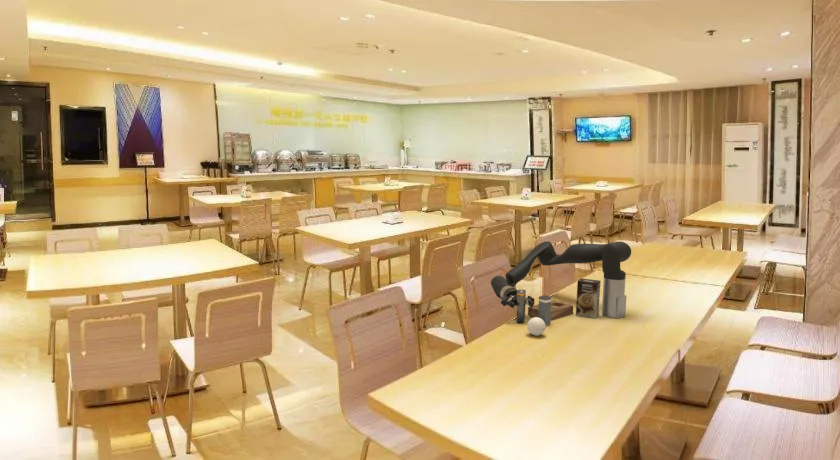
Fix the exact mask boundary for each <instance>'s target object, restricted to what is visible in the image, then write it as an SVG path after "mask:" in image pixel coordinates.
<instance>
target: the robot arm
mask: <svg viewBox="0 0 840 460" xmlns="http://www.w3.org/2000/svg"><path fill="white" fill-rule="evenodd" d="M631 255H632V248H631V247H630V245H629V244H628V243H626V242H624V241H619V240H618V241H614V242H609V243H600V244H599V243H574V244H571V245H569V246H568V247H567V248H566V249H565V250H564V251H563V252H562V254H558V253H557V252H556V250H555V248H554V245H553V244H552V242H550V241H548V240H547V241H543V242H539V243H538V244H537V245H536V246H534V247H533V249H532V250H531V251H530V252H529V253H528V254H526V256H525V257H524V258H523V259H522V260H521V261H520V262H519V263H518V264H516V265H515V266H514V267H513V268H511V269H510V270H508V271H507V272H506V273H505V276H503V275H496V276H494V277H492V279H491V280H490V286H491V288H492V290H493V292H494V293H495V295H496V296H497V298H500V299H499V301H500V304H501V306H503V307H505V306H507V307H509V308H512V309H514V308H515V307H517V290H518V289H517V288H516V285H517V284H518V283H519V282H521V281H523V280H524V279H525V278H526V277H527V275H528V274H529V273H530V270H531V268H532V266H533V264H534V261H535V260H536V258H537V259H538V262H539V263H540V264H541V265H542V266H547V267H548V266H556V265H562V264H563V265H564V264H589V263H596V262H601V270H602V273H603V281H602V282H603V283H602V284H603V285H602V286H603V287H602V301H601V303H602V305H601V315H602V316H603V317H606V318H614V319H621V318H624V317H626V309H627V295H626V294H625V292H626V278H627V277H626V275H627V274H626V272H625V271H624V270H622V269H621V263H623V262H626V261H627V260H628V259H629V258H630V257H631ZM526 305H527V306H528V307H533V305H535V298H534V297H532V296H531V295H526V300H525V306H526Z"/></svg>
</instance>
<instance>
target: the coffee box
mask: <svg viewBox="0 0 840 460" xmlns="http://www.w3.org/2000/svg"><path fill="white" fill-rule="evenodd" d="M600 294H601V280H599V279H598V280H597V279H590V278H582V277H581V278H579V279H578V280H577V287H576V302H575V303H576V304H575V316H577V317H584V318H591V319H597V318H598V317H599V314H600V313H599V312H600V309H599V308H600V297H601V295H600Z"/></svg>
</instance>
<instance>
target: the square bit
mask: <svg viewBox="0 0 840 460" xmlns="http://www.w3.org/2000/svg"><path fill="white" fill-rule="evenodd" d="M551 301H552V296H549V295H545V294H544V295H540V296H538V304H539V315H538V318H541V319H542V320H543V321H544V322H545V326H546V327H547V326H549V325H551V320H550V319H551ZM546 324H547V325H546Z"/></svg>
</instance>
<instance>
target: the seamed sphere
mask: <svg viewBox="0 0 840 460" xmlns="http://www.w3.org/2000/svg"><path fill="white" fill-rule="evenodd" d="M526 326H527V331H528V332H529V333H530V334H531V335H533V336H535V337H536V336H537V337H538V336H541V335H543V334H545V333H544V332H545V331H546V327H547V326H548V325H547V324H546V326H545V322H544V321H543V320H542V319H541V318H538V317H531V318H530V319H529V320H528V322H527V323H526Z"/></svg>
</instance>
